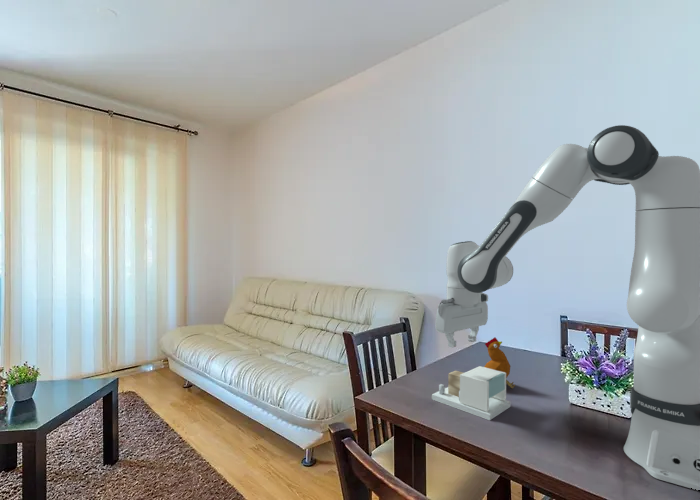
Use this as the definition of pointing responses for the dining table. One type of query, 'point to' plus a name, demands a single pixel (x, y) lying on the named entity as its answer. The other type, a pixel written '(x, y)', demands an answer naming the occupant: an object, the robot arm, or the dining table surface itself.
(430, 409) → the dining table surface
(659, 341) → the robot arm
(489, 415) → the white peg base plate
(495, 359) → the toy
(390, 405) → the dining table surface
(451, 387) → the block
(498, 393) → the cover
